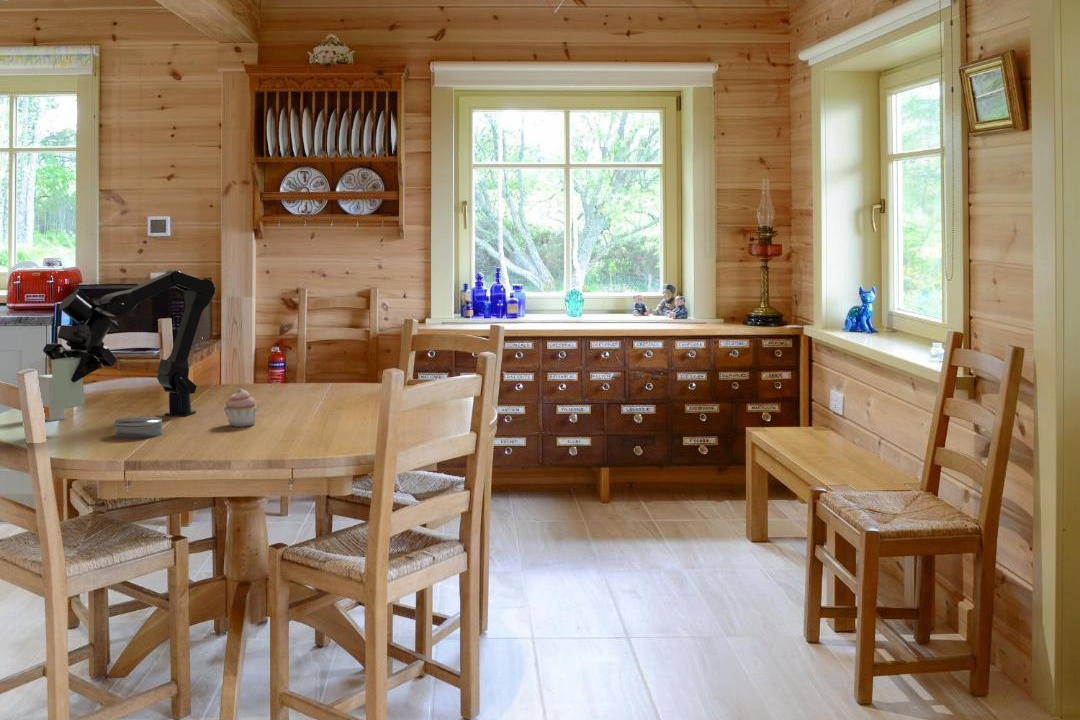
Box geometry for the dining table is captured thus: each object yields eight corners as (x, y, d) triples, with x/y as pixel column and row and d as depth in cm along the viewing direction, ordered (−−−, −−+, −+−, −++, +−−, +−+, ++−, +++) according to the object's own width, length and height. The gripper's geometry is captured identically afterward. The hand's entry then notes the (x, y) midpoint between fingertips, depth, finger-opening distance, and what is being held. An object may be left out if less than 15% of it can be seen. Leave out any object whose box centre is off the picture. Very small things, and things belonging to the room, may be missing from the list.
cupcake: (221, 423, 272) (220, 386, 271) (256, 421, 276) (256, 384, 275) (225, 429, 264) (224, 391, 263) (262, 427, 267) (261, 389, 266)
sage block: (68, 403, 260) (66, 357, 259) (84, 404, 259) (82, 358, 257) (53, 406, 256) (51, 359, 254) (70, 408, 254) (67, 360, 253)
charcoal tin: (130, 430, 261) (130, 415, 261) (171, 432, 260) (170, 417, 259) (105, 439, 250) (105, 423, 250) (147, 440, 249) (147, 424, 248)
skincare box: (39, 418, 276) (37, 375, 275) (54, 416, 280) (52, 373, 278) (50, 421, 273) (48, 377, 271) (65, 419, 276) (63, 375, 275)
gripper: (46, 312, 261) (15, 359, 252) (106, 314, 255) (76, 362, 246) (70, 339, 269) (40, 386, 260) (128, 342, 264) (101, 390, 255)
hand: (63, 380), depth 255 cm, fingers closed on sage block, 5 cm apart
